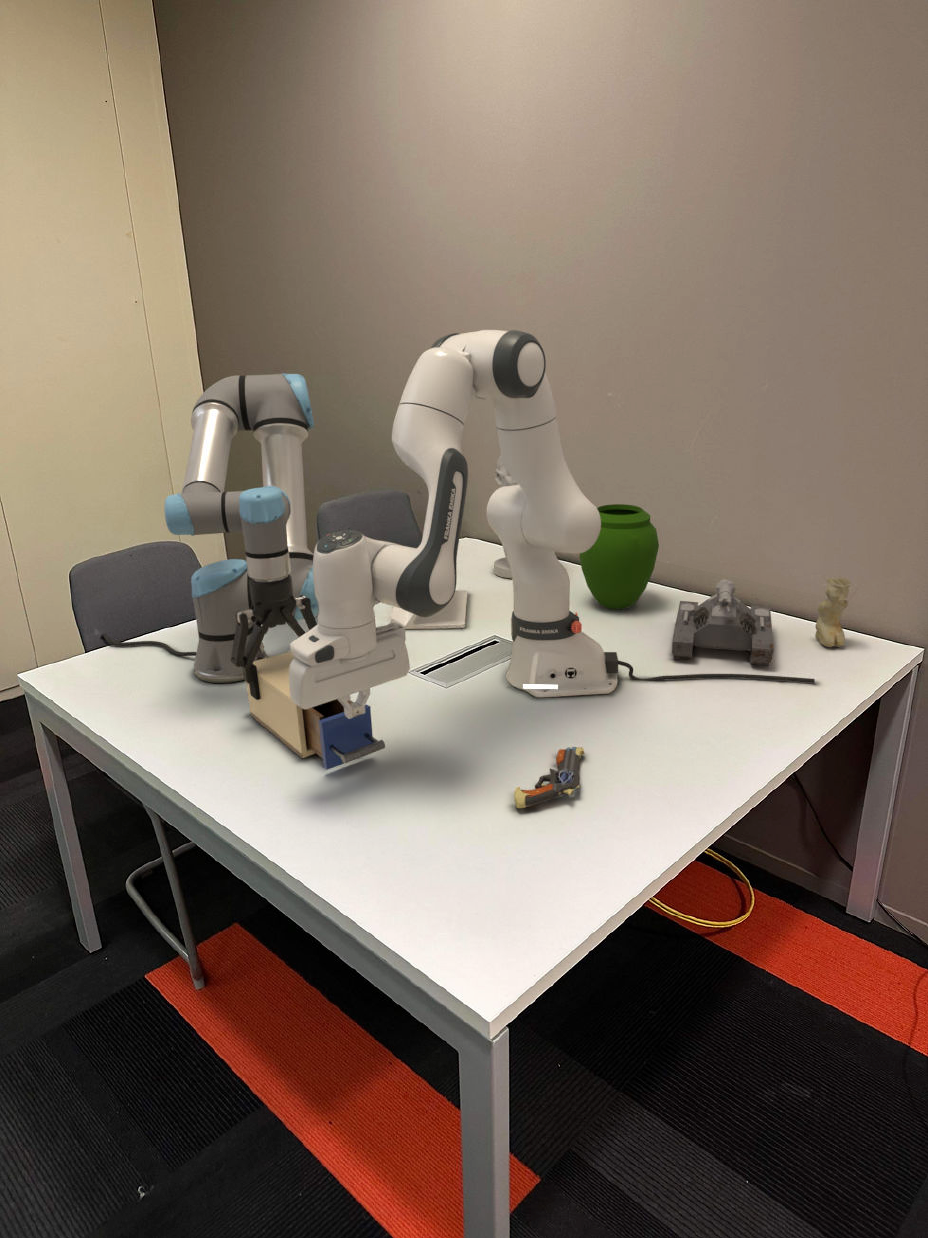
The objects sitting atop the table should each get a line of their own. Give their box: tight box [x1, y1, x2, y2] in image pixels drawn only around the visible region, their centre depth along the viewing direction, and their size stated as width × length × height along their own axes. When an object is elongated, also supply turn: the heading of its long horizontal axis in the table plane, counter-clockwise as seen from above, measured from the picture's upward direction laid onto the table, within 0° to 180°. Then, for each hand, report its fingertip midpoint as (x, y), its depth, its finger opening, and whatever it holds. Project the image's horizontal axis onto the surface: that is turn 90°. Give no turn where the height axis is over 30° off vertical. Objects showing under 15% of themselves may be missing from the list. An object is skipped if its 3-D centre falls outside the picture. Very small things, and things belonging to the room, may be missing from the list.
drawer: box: [302, 699, 386, 771], centre depth 147 cm, size 26×9×9 cm, turn 37°
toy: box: [671, 578, 775, 666], centre depth 186 cm, size 25×20×15 cm
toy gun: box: [513, 746, 585, 809], centre depth 137 cm, size 3×19×10 cm
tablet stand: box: [388, 590, 468, 630], centre depth 211 cm, size 18×25×17 cm
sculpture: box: [814, 576, 852, 648], centre depth 185 cm, size 6×7×15 cm
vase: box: [578, 503, 660, 610], centre depth 210 cm, size 20×20×24 cm
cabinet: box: [245, 651, 317, 759], centre depth 156 cm, size 22×10×11 cm, turn 37°
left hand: (283, 688), depth 160 cm, fingers closed on cabinet, 10 cm apart
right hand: (355, 715), depth 138 cm, fingers closed
